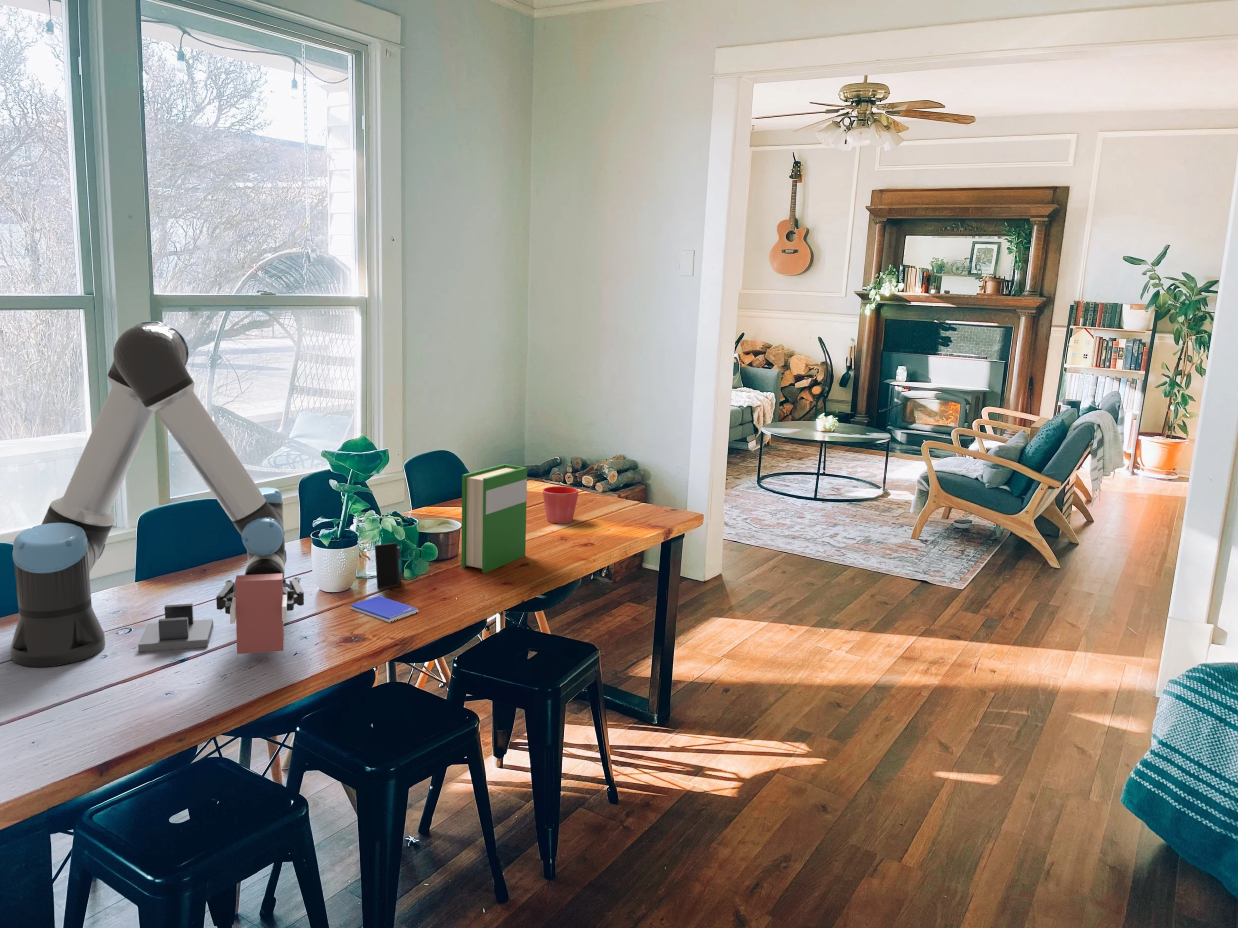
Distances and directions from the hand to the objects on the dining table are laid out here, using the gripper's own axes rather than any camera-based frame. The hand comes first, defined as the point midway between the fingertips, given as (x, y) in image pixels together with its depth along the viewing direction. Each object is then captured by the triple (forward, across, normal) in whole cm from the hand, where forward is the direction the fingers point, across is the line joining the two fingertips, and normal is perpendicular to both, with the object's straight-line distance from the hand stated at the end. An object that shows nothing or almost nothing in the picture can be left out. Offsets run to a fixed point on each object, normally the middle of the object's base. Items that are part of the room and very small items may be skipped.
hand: (258, 614), depth 166 cm
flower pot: (-95, -81, -10) cm, 125 cm away
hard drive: (-27, -24, -12) cm, 38 cm away
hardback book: (-58, -54, -10) cm, 80 cm away
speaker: (-46, -26, -11) cm, 54 cm away
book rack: (-20, +16, -11) cm, 28 cm away
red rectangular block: (-5, 0, -8) cm, 10 cm away
